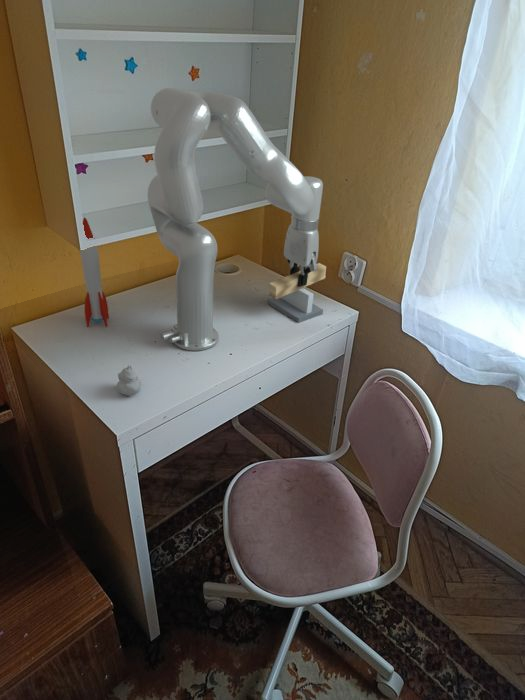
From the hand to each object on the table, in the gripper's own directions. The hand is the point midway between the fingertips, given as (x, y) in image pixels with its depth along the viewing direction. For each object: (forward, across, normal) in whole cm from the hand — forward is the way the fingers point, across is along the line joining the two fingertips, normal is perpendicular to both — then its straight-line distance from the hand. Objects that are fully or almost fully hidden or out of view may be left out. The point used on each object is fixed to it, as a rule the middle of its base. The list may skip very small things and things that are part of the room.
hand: (298, 282), depth 150 cm
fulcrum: (+9, 0, 0) cm, 9 cm away
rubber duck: (+9, +9, -60) cm, 61 cm away
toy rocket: (+9, -24, -53) cm, 59 cm away
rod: (+1, 0, 0) cm, 1 cm away
